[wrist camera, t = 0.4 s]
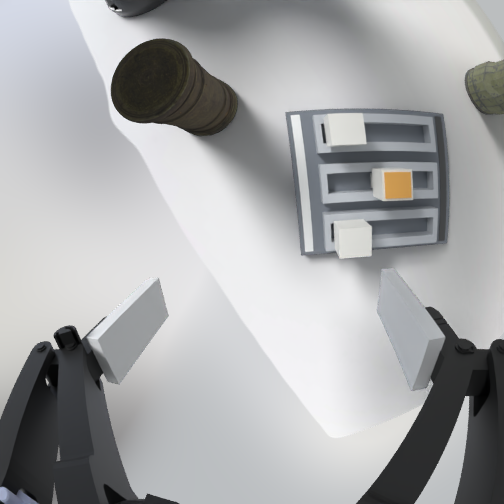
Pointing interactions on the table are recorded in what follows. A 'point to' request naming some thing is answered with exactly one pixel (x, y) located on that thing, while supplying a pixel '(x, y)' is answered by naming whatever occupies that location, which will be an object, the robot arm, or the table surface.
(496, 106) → the thermos
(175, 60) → the container
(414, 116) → the panel
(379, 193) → the handle
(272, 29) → the table surface
